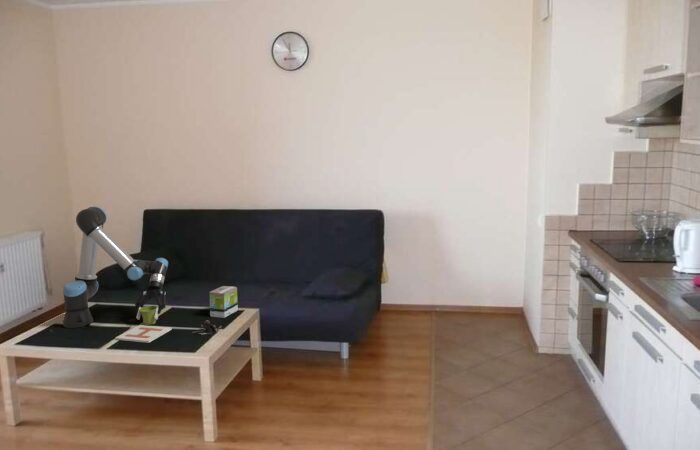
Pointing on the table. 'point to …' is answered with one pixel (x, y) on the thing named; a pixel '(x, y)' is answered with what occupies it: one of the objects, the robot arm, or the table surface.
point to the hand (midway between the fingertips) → (146, 318)
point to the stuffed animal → (208, 328)
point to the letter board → (143, 333)
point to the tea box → (223, 301)
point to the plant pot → (148, 314)
